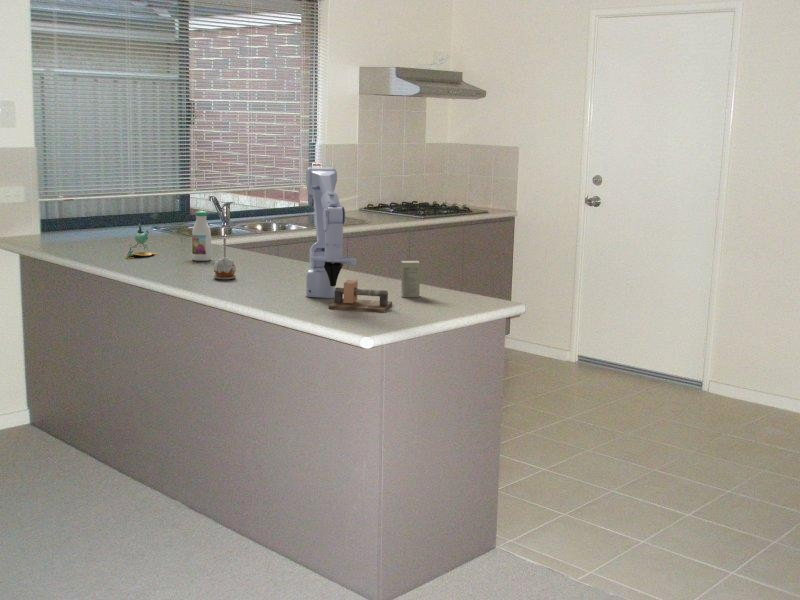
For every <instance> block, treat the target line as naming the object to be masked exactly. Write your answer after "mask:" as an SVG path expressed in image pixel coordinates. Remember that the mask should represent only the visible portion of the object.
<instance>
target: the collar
mask: <svg viewBox="0 0 800 600" xmlns="http://www.w3.org/2000/svg"><path fill="white" fill-rule="evenodd" d="M343 288H344V294H343V299H344V303H354V302H355V301H356V300H357V299H358V295H354V289H359V288H358V280H356V279H348V280H347V281H344V283H343Z"/></svg>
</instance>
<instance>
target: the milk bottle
mask: <svg viewBox="0 0 800 600" xmlns="http://www.w3.org/2000/svg"><path fill="white" fill-rule="evenodd" d="M207 218H208V213H207V211H202V210H201V211H195V222H194V225H193V227H192V232H191V250H192V251H191V257H192V261H196V262H205V261H206V262H207V261H208V262H209V261H210V260H212V234H211V232H212V231H211V227H210V226H209V223H208V220H207Z"/></svg>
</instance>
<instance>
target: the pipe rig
mask: <svg viewBox="0 0 800 600" xmlns="http://www.w3.org/2000/svg"><path fill="white" fill-rule="evenodd" d="M354 295H357V296H368V297H369V296H370V297H379V300H373V299H372V300H371V299H359V298H357V300H356V301H355V302H354V303H344V287H335V291H334V298H333V299H334V301H333V302H332V303H331V304H329V305H328V309H329V310H339V311H341V310H342V311H356V312H371V313H385V312H386V311H388V309H389V308H390V307H392V306H393V301H390V300H389V296H388V295H389V293H388V290H384V289H383V290H382V289H381V290H380V289H371V288H370V289H367V288H365V289H364V288H358V289H354Z"/></svg>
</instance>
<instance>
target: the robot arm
mask: <svg viewBox="0 0 800 600" xmlns="http://www.w3.org/2000/svg"><path fill="white" fill-rule="evenodd" d="M305 181H306V182H305V183H306V191H307V194H309V195H310V196H311V197H312V200H313V205H314V206H313V207H314V217H315V231H316V232H315V233H316V242H314V244H312V245H311V246H310V248H309V256H308V257H309V259H308V260H309V262H308V263H309V267H310V269H309V270H307V273H306V283H305V284H306V289H305V290H306V293H305V294H306V295H305V297H309V298H320V299H321V298H322V299H334V291H335V288H336V286H337V283H338V277H339V275H340V272H341V271H342V268H343V266H344V265H348V266H349V265H351V266H355V265H357V258H355V257H353V258H352V257H343V253H344V252H343V248H344V247H343V245H344V244H343V243H344V242H343V240H344V237H343V236H344V235H343V234H344V225H345V222H346V210H345V207H344V206H343V205H341V202H340V198H339V196H338V193H336V192H334V191H335V189H336V185H337V181H338V171H337V169H336V168H335V166H334V167H333V166H332V167H311V166H308V167H307V168H306V171H305Z"/></svg>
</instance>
